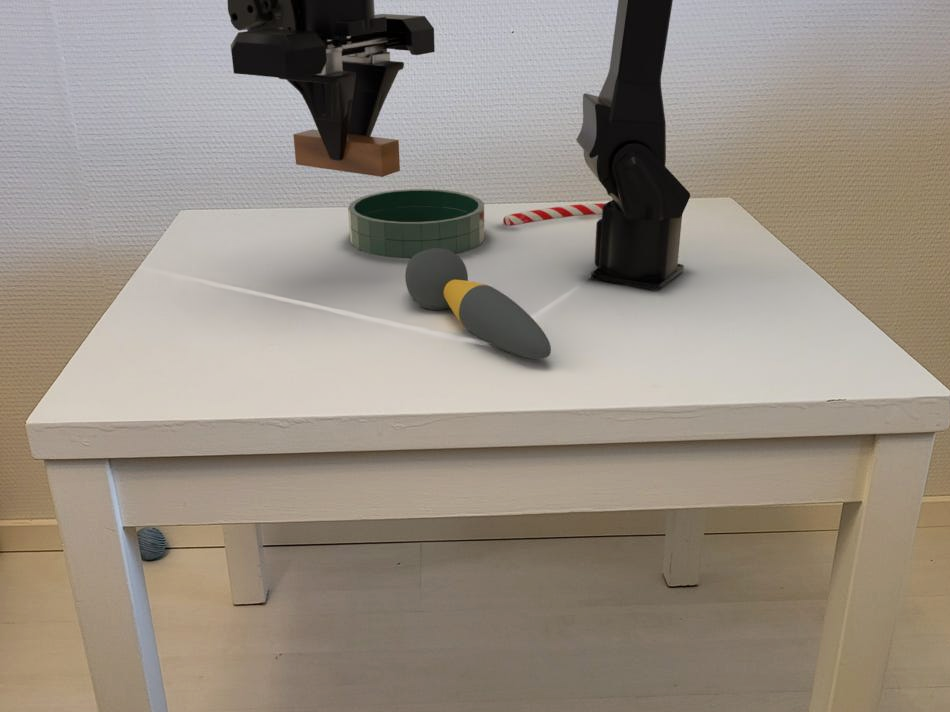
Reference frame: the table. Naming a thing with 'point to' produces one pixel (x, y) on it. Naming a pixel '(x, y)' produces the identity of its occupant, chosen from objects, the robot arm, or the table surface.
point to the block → (349, 154)
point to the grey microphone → (473, 303)
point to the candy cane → (552, 213)
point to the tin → (416, 222)
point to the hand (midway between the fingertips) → (347, 156)
